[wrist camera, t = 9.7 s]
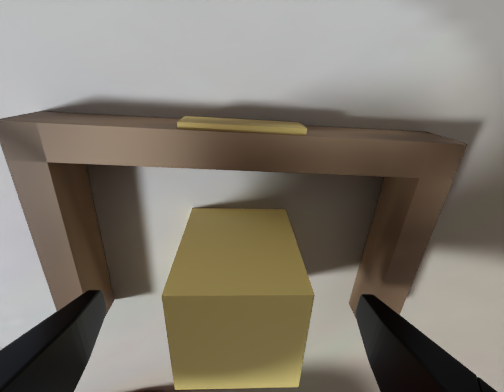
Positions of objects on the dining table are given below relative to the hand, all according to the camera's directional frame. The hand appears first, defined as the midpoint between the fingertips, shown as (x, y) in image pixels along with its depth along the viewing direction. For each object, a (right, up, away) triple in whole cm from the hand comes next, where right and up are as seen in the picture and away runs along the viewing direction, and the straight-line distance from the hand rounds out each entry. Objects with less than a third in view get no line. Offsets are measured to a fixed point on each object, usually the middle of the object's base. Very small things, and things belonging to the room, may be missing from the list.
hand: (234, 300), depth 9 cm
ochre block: (0, +1, +3) cm, 3 cm away
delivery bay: (0, +2, +2) cm, 3 cm away
